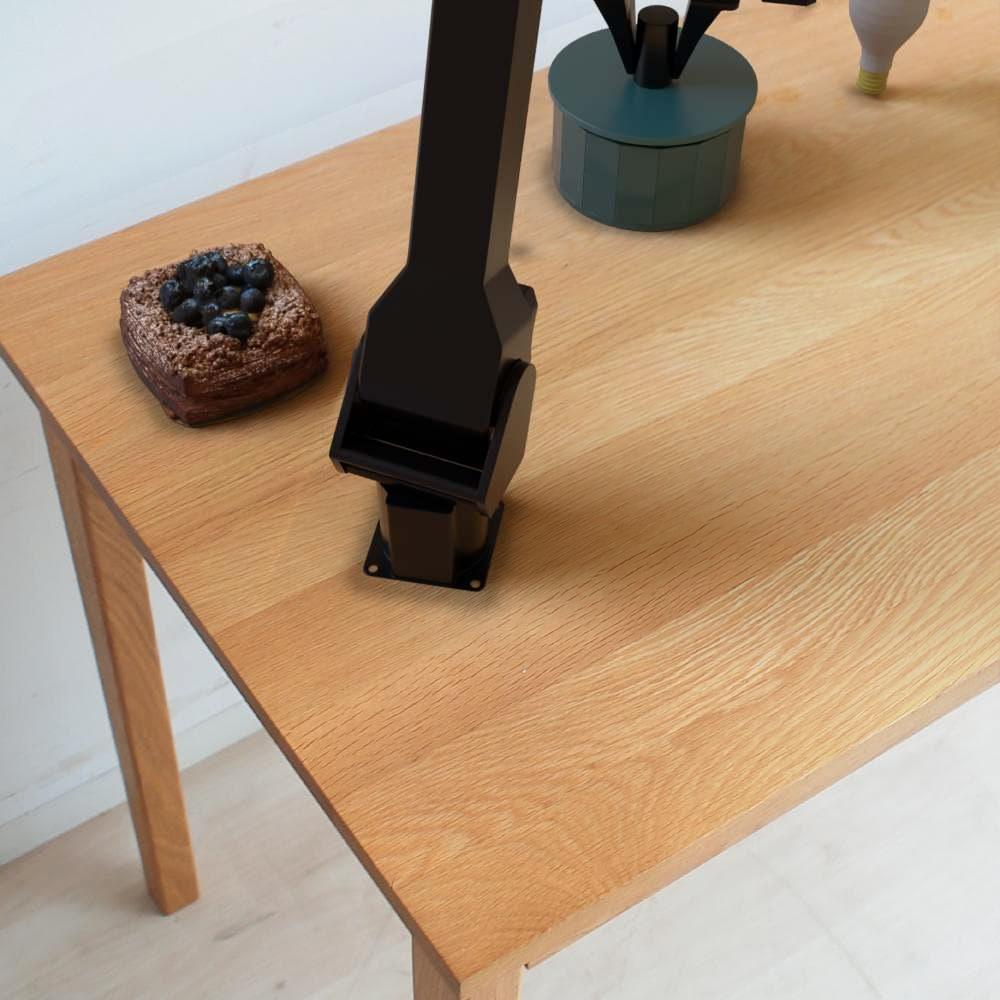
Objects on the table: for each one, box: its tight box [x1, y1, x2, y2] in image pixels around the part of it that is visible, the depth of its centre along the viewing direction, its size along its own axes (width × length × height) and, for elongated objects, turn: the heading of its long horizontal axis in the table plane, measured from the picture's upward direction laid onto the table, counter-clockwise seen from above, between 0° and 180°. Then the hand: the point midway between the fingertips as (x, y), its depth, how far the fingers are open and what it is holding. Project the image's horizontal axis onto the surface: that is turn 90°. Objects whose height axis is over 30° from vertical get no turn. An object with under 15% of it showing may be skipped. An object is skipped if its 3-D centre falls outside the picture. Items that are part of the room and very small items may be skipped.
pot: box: [551, 103, 747, 232], centre depth 97 cm, size 13×13×6 cm
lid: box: [547, 4, 759, 146], centre depth 92 cm, size 14×14×6 cm
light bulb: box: [848, 0, 931, 96], centre depth 102 cm, size 6×5×10 cm
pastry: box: [118, 242, 331, 427], centre depth 85 cm, size 11×12×6 cm
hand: (653, 73), depth 93 cm, fingers closed on lid, 2 cm apart
